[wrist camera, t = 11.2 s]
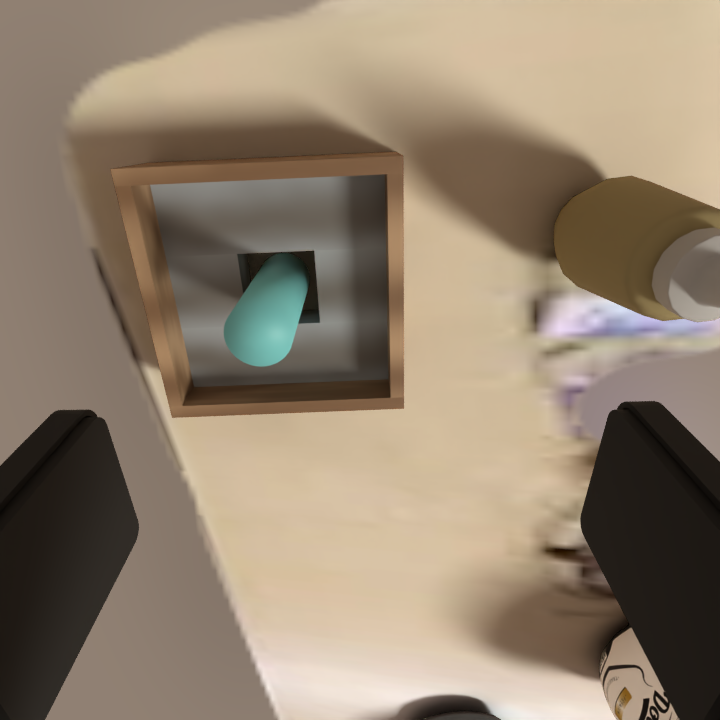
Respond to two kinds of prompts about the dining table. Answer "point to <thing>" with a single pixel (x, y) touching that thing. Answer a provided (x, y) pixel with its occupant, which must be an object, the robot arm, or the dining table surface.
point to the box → (232, 277)
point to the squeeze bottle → (643, 249)
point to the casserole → (463, 716)
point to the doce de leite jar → (632, 681)
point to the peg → (268, 312)
